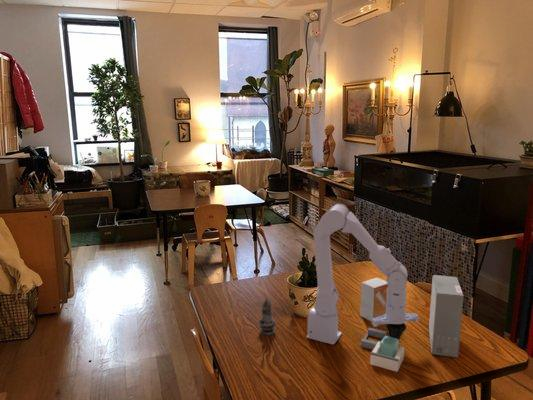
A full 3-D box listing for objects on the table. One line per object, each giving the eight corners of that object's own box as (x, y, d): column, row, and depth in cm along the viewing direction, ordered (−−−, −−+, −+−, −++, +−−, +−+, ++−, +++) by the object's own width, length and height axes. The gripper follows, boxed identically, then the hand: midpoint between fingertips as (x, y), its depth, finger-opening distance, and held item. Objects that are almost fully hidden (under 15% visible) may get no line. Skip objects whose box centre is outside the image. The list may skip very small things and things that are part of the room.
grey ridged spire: (278, 328, 146) (278, 296, 143) (271, 337, 140) (270, 303, 138) (263, 325, 148) (262, 293, 146) (255, 333, 143) (254, 300, 140)
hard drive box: (458, 358, 126) (464, 296, 122) (431, 355, 128) (435, 293, 124) (452, 332, 141) (457, 276, 137) (428, 329, 143) (431, 274, 139)
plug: (392, 360, 126) (393, 344, 125) (379, 356, 128) (379, 340, 127) (398, 352, 130) (398, 336, 129) (385, 348, 132) (385, 333, 131)
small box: (373, 322, 148) (374, 288, 146) (359, 315, 154) (360, 282, 151) (388, 316, 153) (390, 282, 150) (375, 309, 158) (376, 276, 155)
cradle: (379, 351, 131) (379, 345, 131) (359, 346, 134) (359, 340, 134) (386, 337, 139) (387, 331, 138) (368, 332, 142) (368, 327, 141)
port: (377, 350, 131) (378, 339, 131) (403, 357, 128) (404, 345, 127) (370, 364, 124) (370, 352, 124) (397, 371, 121) (398, 359, 120)
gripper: (411, 296, 135) (409, 335, 138) (368, 300, 133) (367, 340, 135) (423, 305, 128) (420, 346, 131) (378, 310, 126) (376, 352, 129)
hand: (394, 344), depth 133 cm, fingers closed
